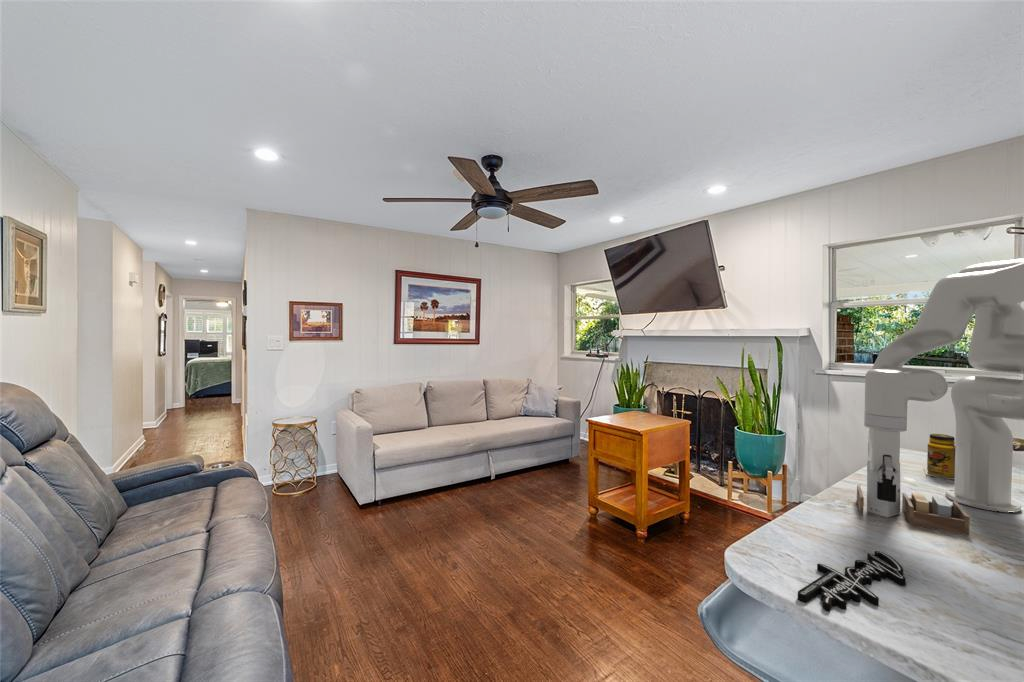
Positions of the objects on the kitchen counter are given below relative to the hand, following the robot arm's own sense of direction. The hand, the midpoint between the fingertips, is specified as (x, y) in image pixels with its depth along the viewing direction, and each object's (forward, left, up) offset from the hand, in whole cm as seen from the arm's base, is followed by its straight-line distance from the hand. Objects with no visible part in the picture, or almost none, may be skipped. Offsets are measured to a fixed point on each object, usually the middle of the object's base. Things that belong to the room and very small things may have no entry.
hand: (883, 493), depth 100 cm
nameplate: (+40, -8, -5) cm, 41 cm away
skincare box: (0, 0, -5) cm, 5 cm away
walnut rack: (0, +4, -4) cm, 6 cm away
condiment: (-46, +18, -5) cm, 50 cm away
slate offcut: (0, +10, -4) cm, 11 cm away
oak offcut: (0, +6, -4) cm, 8 cm away
